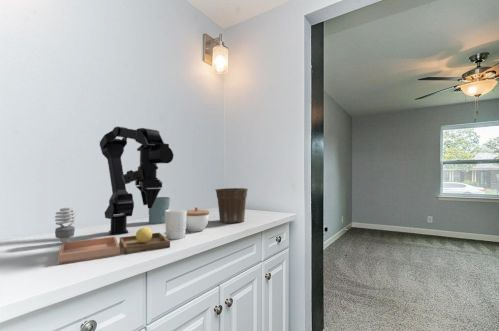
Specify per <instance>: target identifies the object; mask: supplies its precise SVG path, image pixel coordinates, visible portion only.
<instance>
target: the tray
mask: <svg viewBox="0 0 499 331" xmlns="http://www.w3.org/2000/svg"><path fill="white" fill-rule="evenodd" d="M119 246H120V248H121V250H122V251H123V253H124V255H128V254H135V253H136V254H137V253H142V252H143V253H144V252H148V251H155V250H161V249H168V248H169V249H170V247H171V241H170V239H167V238H166V236H164V235H163V234H161V232H152V238H151V239H150V240H149V241H148V242H146V243H140V242H138V241H137V239H136V235H129V236H128V235H127V236H121V237H119Z"/></svg>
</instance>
